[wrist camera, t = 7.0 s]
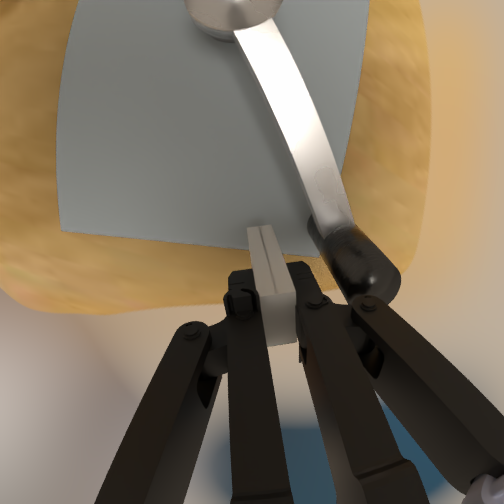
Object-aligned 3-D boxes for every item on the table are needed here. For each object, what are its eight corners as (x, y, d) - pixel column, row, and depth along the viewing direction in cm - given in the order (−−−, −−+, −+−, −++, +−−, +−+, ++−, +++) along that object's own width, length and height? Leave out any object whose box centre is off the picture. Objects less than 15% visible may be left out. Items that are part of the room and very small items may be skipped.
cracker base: (118, -72, 6) (106, -89, 4) (365, -51, 9) (382, -66, 6) (68, 224, 18) (49, 242, 15) (314, 249, 20) (326, 271, 17)
